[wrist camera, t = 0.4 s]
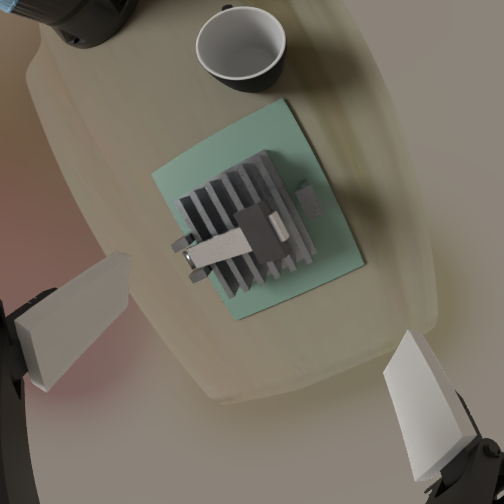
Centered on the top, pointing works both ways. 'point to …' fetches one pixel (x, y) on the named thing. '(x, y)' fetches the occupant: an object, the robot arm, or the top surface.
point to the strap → (244, 239)
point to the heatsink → (221, 220)
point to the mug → (243, 48)
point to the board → (292, 173)
